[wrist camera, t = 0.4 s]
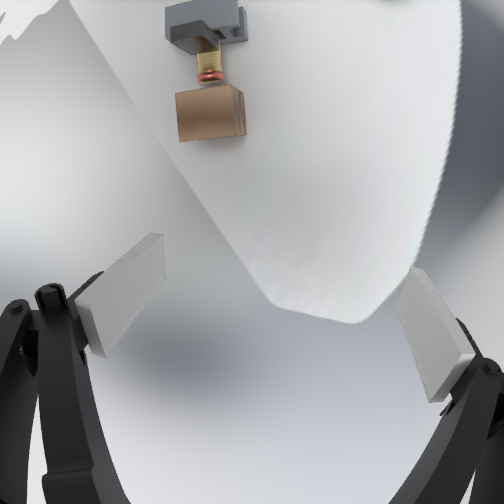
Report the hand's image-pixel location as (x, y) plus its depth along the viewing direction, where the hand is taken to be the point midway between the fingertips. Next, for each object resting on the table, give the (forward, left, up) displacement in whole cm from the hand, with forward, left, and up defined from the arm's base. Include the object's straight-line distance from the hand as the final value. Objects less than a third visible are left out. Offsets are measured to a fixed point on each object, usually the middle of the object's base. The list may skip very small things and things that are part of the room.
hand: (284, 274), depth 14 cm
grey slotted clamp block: (-23, -9, -27) cm, 37 cm away
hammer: (-20, -9, -25) cm, 33 cm away
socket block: (-10, -9, -27) cm, 30 cm away
